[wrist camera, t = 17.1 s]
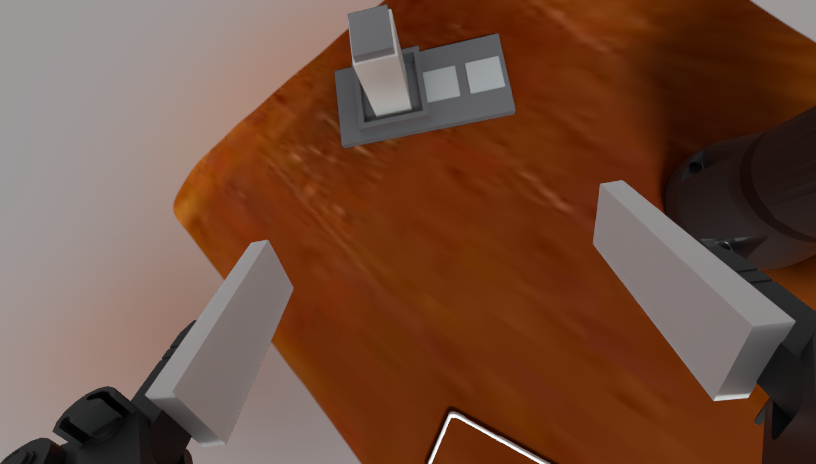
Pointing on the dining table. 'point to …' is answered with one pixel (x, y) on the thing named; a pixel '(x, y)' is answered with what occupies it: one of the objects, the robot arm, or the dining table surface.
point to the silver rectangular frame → (499, 438)
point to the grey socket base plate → (431, 92)
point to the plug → (379, 60)
